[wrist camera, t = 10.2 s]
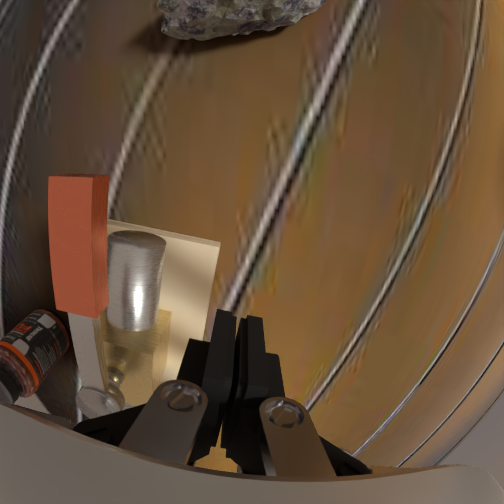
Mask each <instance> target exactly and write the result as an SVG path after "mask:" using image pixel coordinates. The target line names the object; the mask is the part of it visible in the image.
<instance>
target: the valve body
mask: <svg viewBox="0 0 504 504" xmlns="http://www.w3.org/2000/svg"><path fill="white" fill-rule="evenodd" d="M165 250H166V241H165V240H164V239H163V238H162V237H160V236H158V235H155V234H152V233H148V232H143V231H134V230H123V231H116V232H113V233H111V234H110V235H109V236H108V246H107V271H108V292H109V304H108V306H107V307H106V308H105V309H104V310H103V312H102V313H101V314H100V322H101V331H102V339H103V346H104V353H105V359H106V365H107V371H108V376H109V382H111V383H113V384H114V385H115V386H116V387H117V388H119V390H120V391H121V392H122V393H123V395H124V398H125V405H124V407H123V410H125V409H128V408H132V407H135V406H138V405H142V404H145V403H147V402H148V400H149V399H150V397H151V396H152V394H153V393H154V391H155V389H156V388H157V387H158V386H159V385H160V382H161V379H162V376H163V373H164V370H165V367H166V364H167V354H168V344H169V334H170V325H171V316H172V311H167V310H163V309H159V299H160V290H161V281H162V273H163V265H164V257H165Z"/></svg>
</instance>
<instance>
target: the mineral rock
mask: <svg viewBox="0 0 504 504" xmlns="http://www.w3.org/2000/svg"><path fill="white" fill-rule="evenodd" d="M324 2H325V0H159V1H158V4H157V8H158V9H159V10H160V11H162V12H163V15H164V17H163V21H162V22H161V26H162V29H161V31H162V32H163V33H164V34H166V35H168V36H169V37H173V38H176V39H185V40H189V39H191V38H193V39H196V40H199V41H204V40H209V39H212V38H216V37H219V36H226V35H233V36H235V35H237V34H242V35H248V34H250V33H251V32H253V31H255V30H266V31H272V30H274V29H276V27H279V26H292V25H295V24H297V22H298V21H299V20H300V19H301V17H303V16H306V15H309V14H311V13H313V12H315V11H316V10H317V9H318V8H319V7H321V6H322V5H323V4H324Z"/></svg>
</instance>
